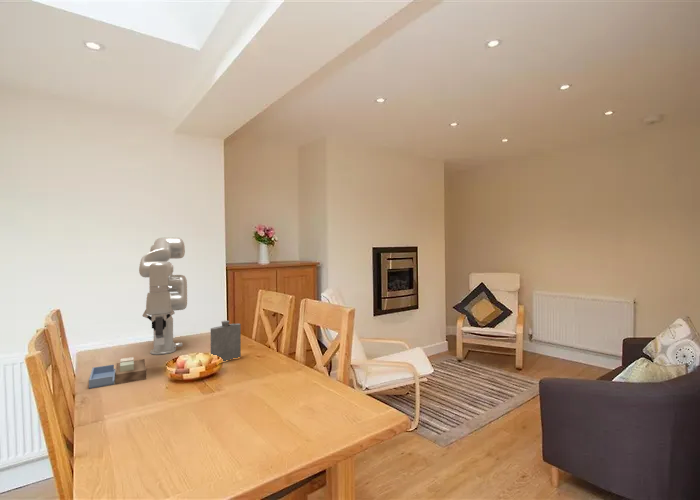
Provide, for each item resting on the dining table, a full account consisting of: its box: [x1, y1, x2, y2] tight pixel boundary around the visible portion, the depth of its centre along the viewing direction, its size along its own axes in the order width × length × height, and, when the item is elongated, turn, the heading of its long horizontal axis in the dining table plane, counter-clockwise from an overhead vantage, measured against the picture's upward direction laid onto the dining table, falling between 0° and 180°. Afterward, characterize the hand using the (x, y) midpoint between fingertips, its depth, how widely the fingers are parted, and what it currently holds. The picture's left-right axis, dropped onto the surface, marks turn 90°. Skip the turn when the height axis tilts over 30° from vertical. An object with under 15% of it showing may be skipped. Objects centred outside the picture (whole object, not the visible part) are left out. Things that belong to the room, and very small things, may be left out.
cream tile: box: [119, 356, 135, 363], centre depth 162 cm, size 5×5×2 cm
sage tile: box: [119, 360, 135, 372], centre depth 156 cm, size 5×5×2 cm
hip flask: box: [210, 320, 242, 361], centre depth 180 cm, size 16×4×20 cm, turn 139°
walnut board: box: [115, 358, 147, 385], centre depth 159 cm, size 11×18×4 cm, turn 32°
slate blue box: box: [88, 364, 116, 389], centre depth 154 cm, size 8×18×4 cm, turn 32°
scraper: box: [153, 316, 164, 345], centre depth 166 cm, size 3×16×11 cm, turn 32°
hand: (158, 328), depth 166 cm, fingers closed on scraper, 3 cm apart
